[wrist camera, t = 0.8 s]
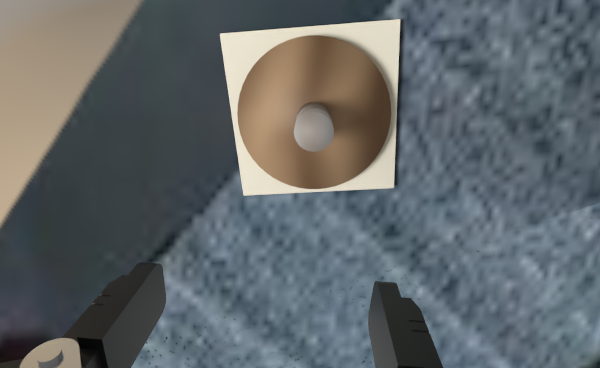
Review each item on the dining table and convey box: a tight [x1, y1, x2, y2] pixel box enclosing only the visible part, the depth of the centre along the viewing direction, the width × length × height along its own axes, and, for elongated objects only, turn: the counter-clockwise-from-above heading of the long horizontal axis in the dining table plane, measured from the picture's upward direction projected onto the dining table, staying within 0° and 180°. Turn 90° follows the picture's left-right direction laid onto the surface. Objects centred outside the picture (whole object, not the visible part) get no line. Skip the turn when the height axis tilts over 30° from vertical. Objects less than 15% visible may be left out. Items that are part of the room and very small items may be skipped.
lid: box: [237, 35, 391, 189], centre depth 28 cm, size 14×14×6 cm
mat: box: [220, 19, 400, 195], centre depth 31 cm, size 15×15×1 cm
